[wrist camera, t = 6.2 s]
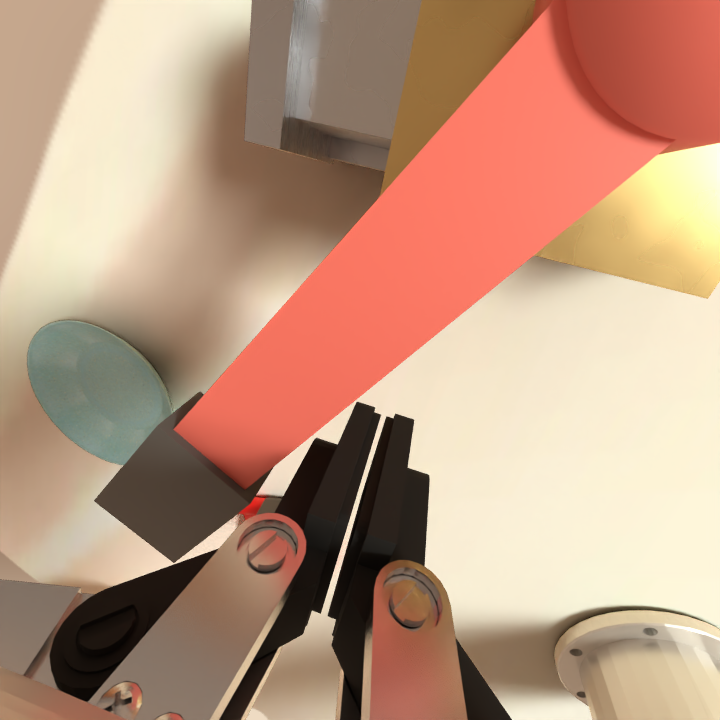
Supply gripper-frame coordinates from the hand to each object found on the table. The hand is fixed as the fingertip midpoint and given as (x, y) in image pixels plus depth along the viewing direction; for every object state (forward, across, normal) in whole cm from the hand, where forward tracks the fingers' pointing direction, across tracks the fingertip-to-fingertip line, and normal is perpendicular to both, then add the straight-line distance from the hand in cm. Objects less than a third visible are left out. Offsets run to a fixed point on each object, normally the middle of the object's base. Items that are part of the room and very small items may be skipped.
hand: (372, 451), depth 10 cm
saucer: (+12, +20, +11) cm, 25 cm away
